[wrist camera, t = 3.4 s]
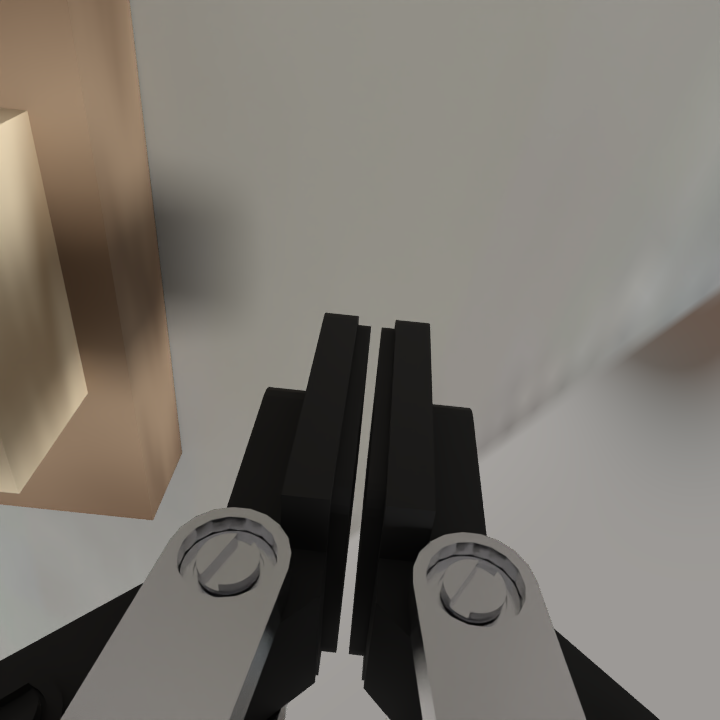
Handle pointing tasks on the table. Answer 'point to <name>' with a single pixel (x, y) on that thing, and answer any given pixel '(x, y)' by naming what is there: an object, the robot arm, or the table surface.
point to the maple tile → (31, 315)
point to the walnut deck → (97, 252)
